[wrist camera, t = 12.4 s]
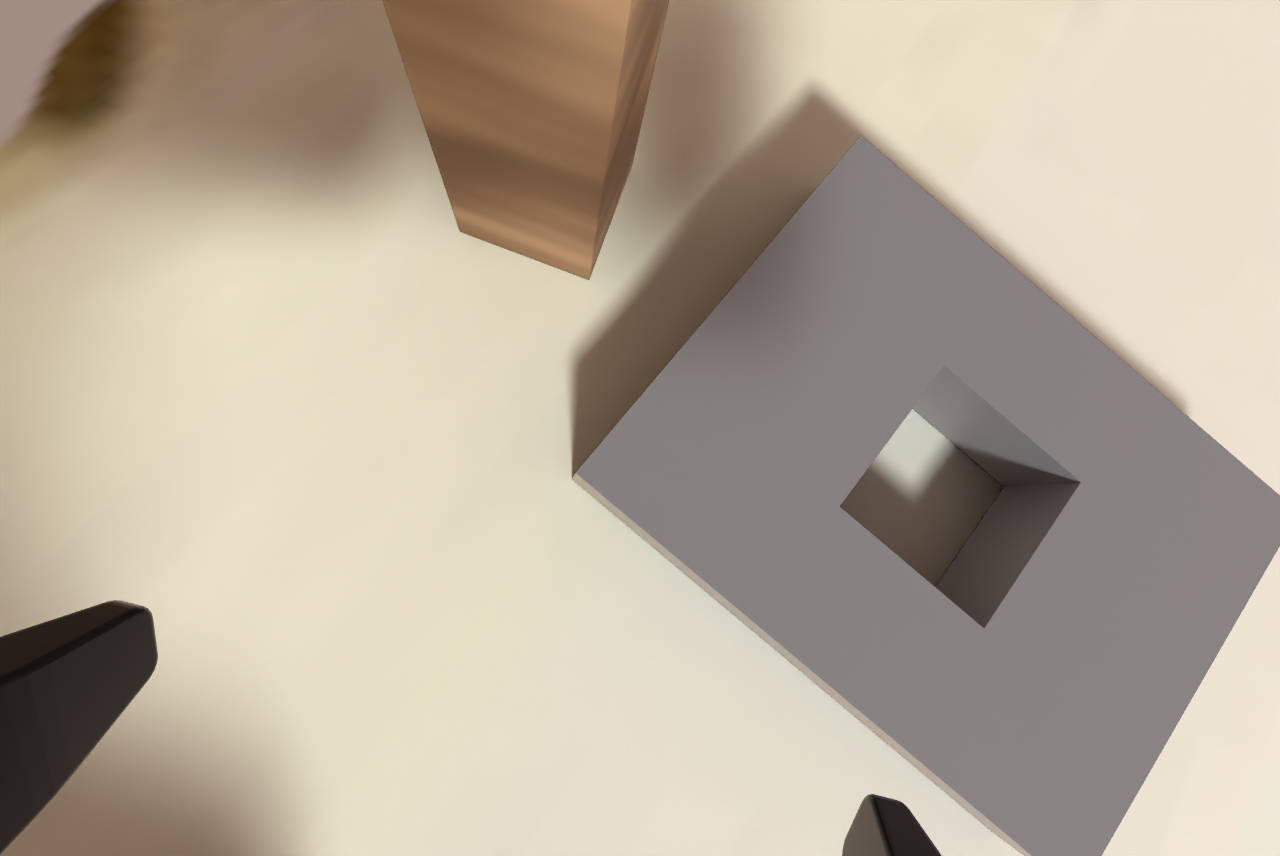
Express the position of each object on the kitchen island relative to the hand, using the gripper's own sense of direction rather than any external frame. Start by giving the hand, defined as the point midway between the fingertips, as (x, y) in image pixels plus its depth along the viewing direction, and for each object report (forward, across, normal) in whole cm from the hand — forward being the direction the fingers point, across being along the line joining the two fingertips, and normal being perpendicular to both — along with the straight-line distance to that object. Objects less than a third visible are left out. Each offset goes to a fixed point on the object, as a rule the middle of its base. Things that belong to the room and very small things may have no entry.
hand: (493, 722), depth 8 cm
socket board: (+13, -8, +1) cm, 15 cm away
